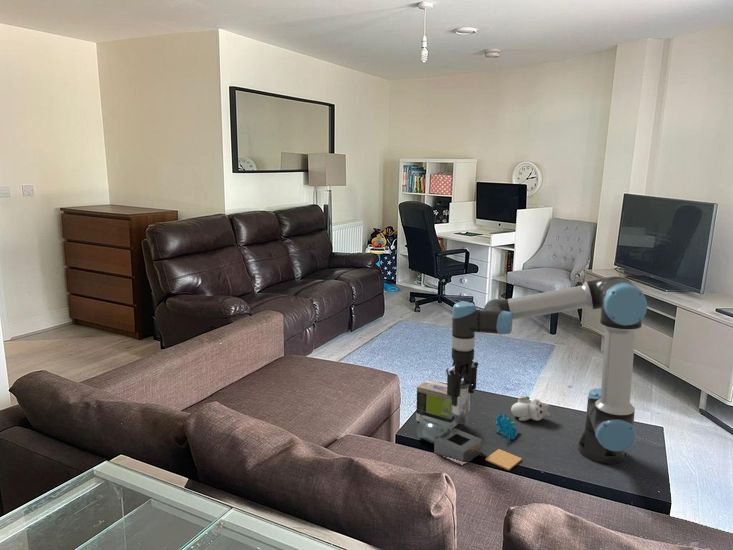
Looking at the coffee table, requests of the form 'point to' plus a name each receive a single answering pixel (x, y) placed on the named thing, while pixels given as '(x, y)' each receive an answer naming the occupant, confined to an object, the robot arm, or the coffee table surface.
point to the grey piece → (450, 441)
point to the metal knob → (463, 403)
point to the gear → (506, 427)
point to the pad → (503, 459)
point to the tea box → (435, 404)
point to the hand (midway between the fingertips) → (461, 411)
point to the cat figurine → (530, 409)
